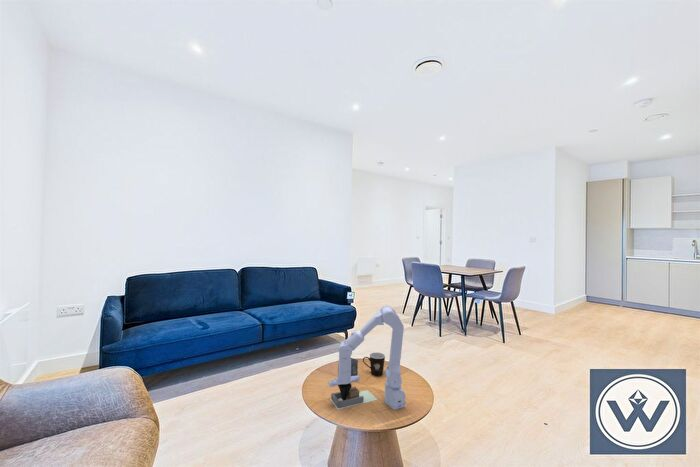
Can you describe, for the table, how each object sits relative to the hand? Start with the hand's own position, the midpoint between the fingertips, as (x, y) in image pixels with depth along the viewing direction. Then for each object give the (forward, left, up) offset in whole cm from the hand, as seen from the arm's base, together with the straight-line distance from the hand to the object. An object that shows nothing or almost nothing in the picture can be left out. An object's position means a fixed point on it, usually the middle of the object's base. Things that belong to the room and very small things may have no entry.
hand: (343, 399), depth 136 cm
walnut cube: (0, -4, -1) cm, 5 cm away
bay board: (0, -5, -2) cm, 6 cm away
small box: (+18, -10, -2) cm, 21 cm away
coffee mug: (+21, -28, -2) cm, 35 cm away
